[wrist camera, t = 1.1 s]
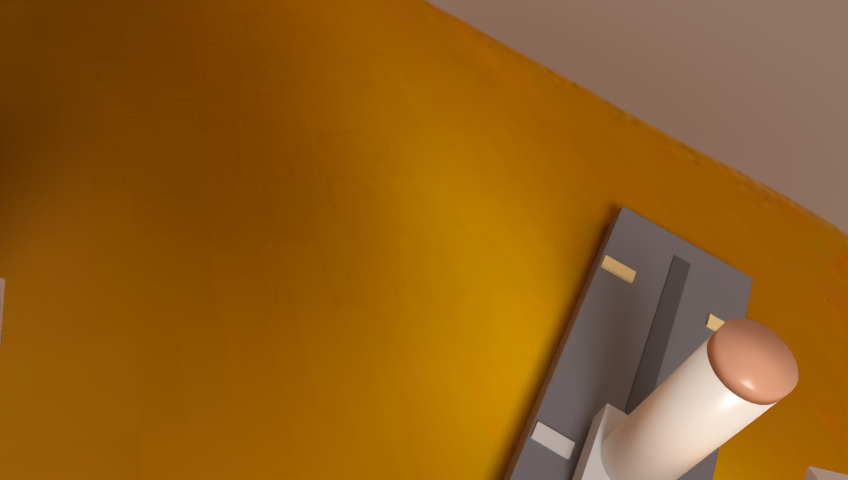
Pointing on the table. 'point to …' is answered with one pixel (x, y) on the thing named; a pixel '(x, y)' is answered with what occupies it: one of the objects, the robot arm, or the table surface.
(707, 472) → the fader console
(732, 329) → the fader knob
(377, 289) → the table surface
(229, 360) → the table surface
